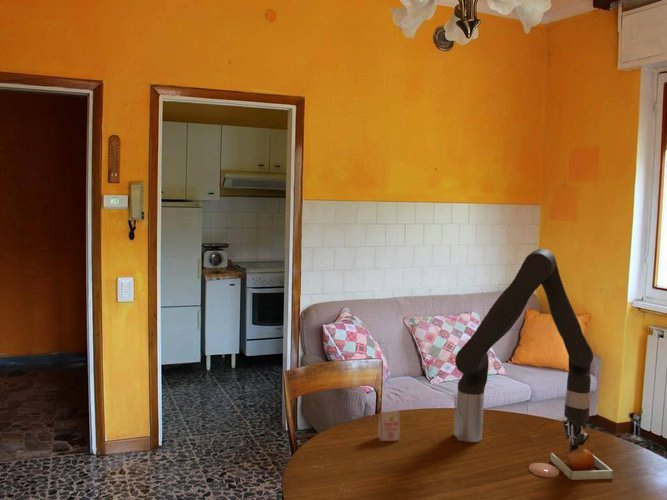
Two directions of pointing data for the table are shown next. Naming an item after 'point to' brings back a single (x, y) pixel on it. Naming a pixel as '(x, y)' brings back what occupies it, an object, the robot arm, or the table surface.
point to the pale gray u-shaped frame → (579, 475)
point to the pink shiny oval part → (544, 470)
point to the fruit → (581, 460)
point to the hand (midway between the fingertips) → (573, 454)
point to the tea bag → (389, 426)
